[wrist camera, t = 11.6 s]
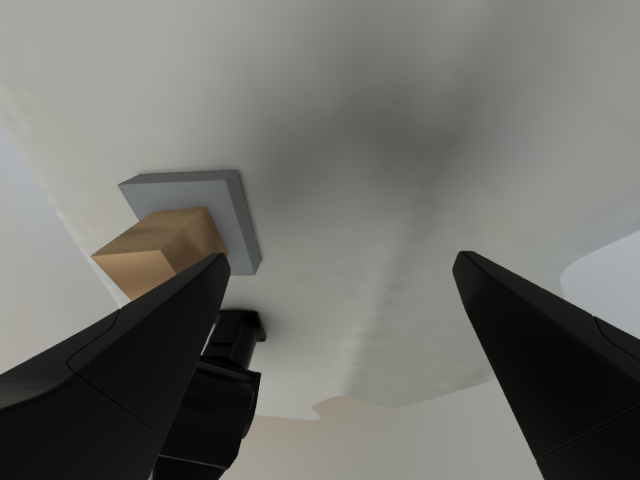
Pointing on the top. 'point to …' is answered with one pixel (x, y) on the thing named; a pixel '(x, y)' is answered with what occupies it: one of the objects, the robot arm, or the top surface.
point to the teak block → (159, 249)
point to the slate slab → (197, 191)
